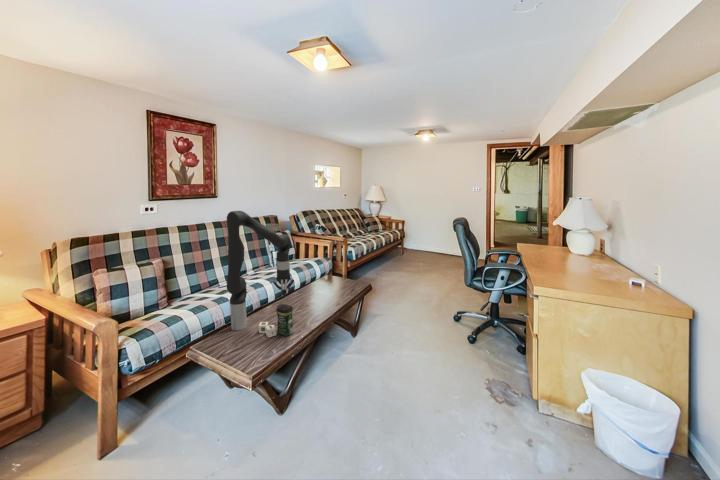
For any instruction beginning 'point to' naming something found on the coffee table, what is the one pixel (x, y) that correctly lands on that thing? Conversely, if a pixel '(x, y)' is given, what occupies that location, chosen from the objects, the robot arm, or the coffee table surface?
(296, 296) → the coffee table surface
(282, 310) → the coffee jar
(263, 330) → the marked block
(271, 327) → the marked block
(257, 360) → the coffee table surface
